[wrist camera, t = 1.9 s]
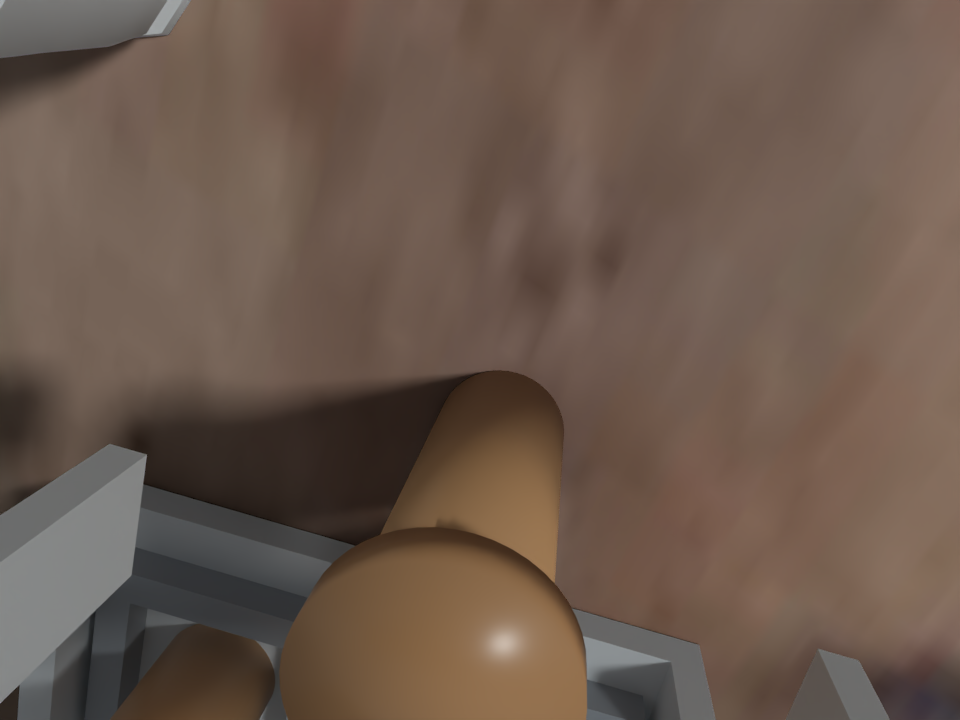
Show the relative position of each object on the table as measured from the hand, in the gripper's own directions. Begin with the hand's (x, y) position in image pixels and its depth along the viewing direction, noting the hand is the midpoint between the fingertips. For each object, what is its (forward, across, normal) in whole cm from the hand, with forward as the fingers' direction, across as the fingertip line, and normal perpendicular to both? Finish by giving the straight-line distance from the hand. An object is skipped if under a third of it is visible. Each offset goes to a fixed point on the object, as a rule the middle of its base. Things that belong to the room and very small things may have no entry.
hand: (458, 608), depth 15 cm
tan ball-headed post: (+8, 0, 0) cm, 8 cm away
